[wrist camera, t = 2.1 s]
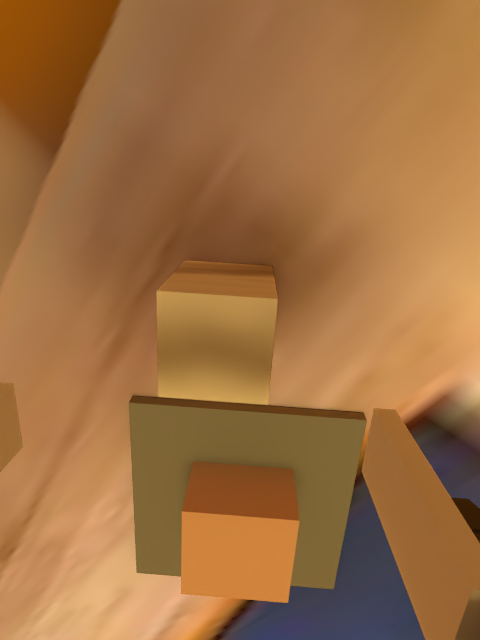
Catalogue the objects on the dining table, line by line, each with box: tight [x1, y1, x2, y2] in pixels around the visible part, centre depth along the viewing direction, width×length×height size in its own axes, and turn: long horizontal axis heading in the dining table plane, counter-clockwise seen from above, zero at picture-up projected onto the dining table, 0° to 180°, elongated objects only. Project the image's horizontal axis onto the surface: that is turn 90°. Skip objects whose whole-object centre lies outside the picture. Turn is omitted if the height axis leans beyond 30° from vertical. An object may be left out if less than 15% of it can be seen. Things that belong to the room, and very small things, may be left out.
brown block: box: [157, 260, 278, 405], centre depth 24 cm, size 6×6×8 cm
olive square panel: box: [129, 396, 367, 589], centre depth 33 cm, size 18×18×1 cm
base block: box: [181, 461, 300, 603], centre depth 30 cm, size 8×8×5 cm
